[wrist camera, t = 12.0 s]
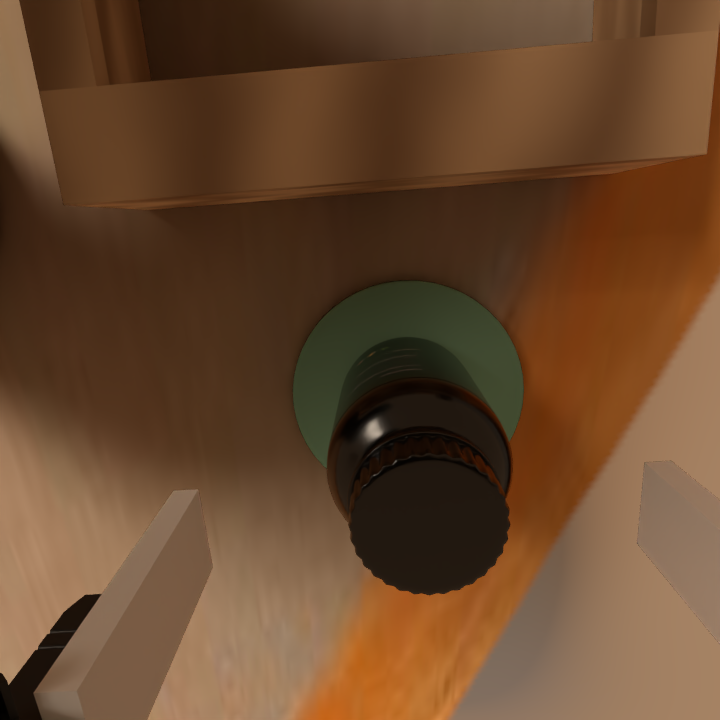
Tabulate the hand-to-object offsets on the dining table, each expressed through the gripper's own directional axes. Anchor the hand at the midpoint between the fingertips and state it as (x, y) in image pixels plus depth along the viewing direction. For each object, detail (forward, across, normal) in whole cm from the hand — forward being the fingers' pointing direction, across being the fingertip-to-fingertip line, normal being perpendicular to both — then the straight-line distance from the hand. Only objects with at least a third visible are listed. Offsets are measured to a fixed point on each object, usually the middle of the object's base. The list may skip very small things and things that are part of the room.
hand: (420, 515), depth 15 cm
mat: (+12, 0, -1) cm, 12 cm away
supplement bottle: (+12, 0, -1) cm, 12 cm away
